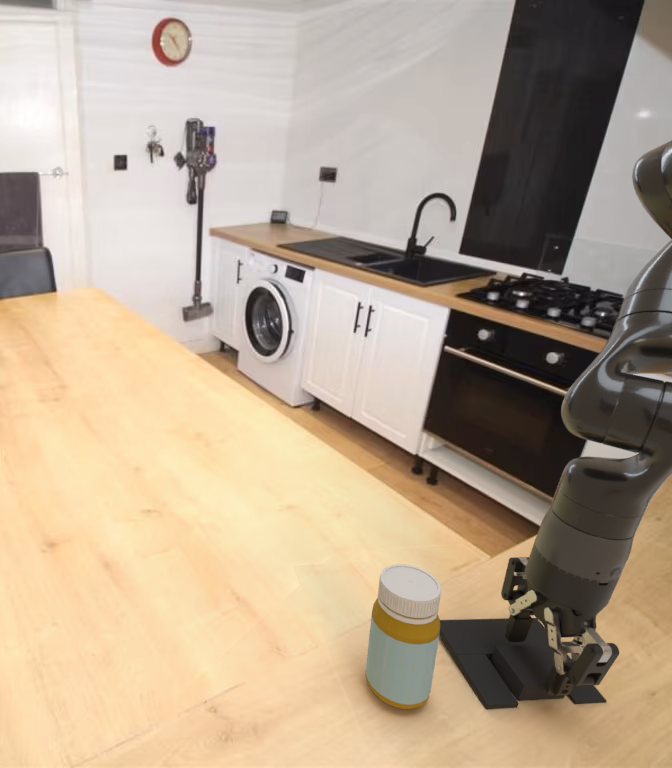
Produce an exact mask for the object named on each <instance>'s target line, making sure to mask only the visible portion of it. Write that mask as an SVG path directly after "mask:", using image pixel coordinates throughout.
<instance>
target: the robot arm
mask: <svg viewBox="0 0 672 768" xmlns="http://www.w3.org/2000/svg"><path fill="white" fill-rule="evenodd" d="M631 179H632V186H633V189H634V192H635V195H636V196H637V199H638V200H639V202H640V204H641V206H642V207H643V209H644V210H645V212H646V213H647V215H649V217H650V218H651V219H652V221H654V223H655V224H656V225H657V226H658V227H659V228H660V229H661V230H662V231H663V232H664V233H665V234H666V235H667V237H669V239H670V240H669V241H668V242H667V243H666V244H665V245H664V246H663V247H662V248H661V249H660V250H659V251H658V252H657V253H656V255H654V256H653V257H652V258H651V259H650V260H649V261H648V262H647V263H646V264H645V265H644V266H643V268H642V269H641V270H640V272H639V273H638V274H637V275H636V277H635V278H634V280H633V281H632V282H631V284H630V285H629V287H628V289H627V290H626V293H625V295H624V298H623V301H622V303H621V306H620V307H619V311H618V314H617V317H616V319H615V323H614V325H613V328H612V331H611V333H610V335H609V337H608V339H607V341H606V343H605V344H604V346H603V348H602V349H601V350H600V352H599V353H598V354H597V355H596V357H595V358H594V359H593V360H592V362H591V363H590V364H589V365H588V366H587V367H586V368H585V369H584V370H583V371H582V373H580V375H579V376H578V377H577V378H576V379H575V381H574V382H573V383H572V385H570V387H569V389H568V390H567V392H566V393H565V395H564V397H563V400H562V402H561V406H560V416H561V420H562V424H563V425H564V427H565V428H566V430H567V432H569V433H570V434H572V436H574V437H576V438H580V439H583V440H585V441H589V442H594V443H597V444H602V445H604V446H609V447H612V448H615V449H620V450H623V451H627V452H631V453H635V454H634V455H633V456H630V457H626V458H617V457H616V458H614V457H613V458H611V457H601V456H579V457H578V456H577V457H575V458H573V459H571V460H569V461H568V462H567V463H566V464H565V466H564V468H563V469H562V472H561V475H560V478H559V479H558V480H559V481H558V483H557V486H556V489H555V491H554V494H553V497H552V500H551V504H550V505H549V508H548V510H547V511H546V513H545V514H544V516H543V518H542V520H541V522H540V526H539V529H538V531H537V534H536V537H535V540H534V542H533V546H532V548H531V551H530V554H529V556H523V557H522V556H521V557H520V556H519V557H517V556H515V557H509V558H508V563H507V566H506V570H505V575H504V579H503V584H502V587H501V592H500V595H501V598H502V599H503V600H504V601H507V602H508V604H509V606H508V611H509V616H508V618H509V619H508V622H507V625H506V634H505V637H506V638H507V639H508V641H509V642H523V641H525V640H526V638H527V635H528V632H529V630H530V627H531V624H532V622H533V618H537V619H538V620H539V621H540V623H541V624H542V625H543V626H544V627H545V628H546V630H547V631H548V642H549V647H550V648H551V649H553V651H554V664H555V666H552V668H551V671H550V673H549V676H548V678H547V680H546V683H545V685H544V689H545V690H546V692H547V693H548V694H549V695H565V696H567V695H569V694H570V693H571V691H572V689H573V686H580V685H594V686H600V684H601V683H602V681H603V680H604V678H605V677H606V675H607V673H608V672H609V671H610V669H611V667H612V666H613V664H614V663H615V662H616V660H617V658H618V657H619V656H620V648H619V647H618V645H616V644H615V643H613V642H606V641H604V639H603V638H602V636H601V635H600V634H599V633H598V632H597V631H596V630H597V616H598V614H599V613H600V612H602V610H604V609H605V608H606V607H607V606H608V605H609V603H610V600H611V598H612V596H613V594H614V591H615V590H616V587H617V584H618V582H619V581H620V578H621V576H622V573H623V571H624V570H625V566H626V564H627V562H628V560H629V558H630V555H631V552H632V548H633V543H634V539H635V537H636V533H637V531H638V528H639V526H640V524H641V522H642V519H643V517H644V515H645V513H646V511H647V509H648V507H649V505H650V502H651V501H652V499H653V497H654V496H655V495H656V493H657V492H658V491H659V489H660V488H661V487H662V485H664V484H665V482H666V481H667V480H668V479H669V478H670V477H671V476H672V381H668V380H666V381H664V380H662V379H656V378H652V377H647V376H643V375H649V374H651V375H653V374H654V375H662V374H663V375H666V374H672V140H670V141H667V142H665V143H663V144H661V145H659V146H657V147H655V148H653V149H651V150H649V151H647V152H646V153H644V154H642V155H641V156H640V157H639V158H638V159H637V160H636V161H635V163H634V165H633V168H632V173H631ZM639 374H640V375H639ZM641 375H642V376H641ZM516 586H517V588H516V589H515V587H516ZM532 616H534V617H532ZM562 638H573V639H572V640H571V641H570V640H569V641H562ZM567 654H568V655H569V654H570V658H571V659H572V661H567V660H566V655H567Z"/></svg>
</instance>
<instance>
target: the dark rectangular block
mask: <svg viewBox="0 0 672 768" xmlns="http://www.w3.org/2000/svg"><path fill="white" fill-rule="evenodd" d="M489 661H490V662H491V663H492V665H493V666H494V668H495V669H496V671H497V672H498V674H499V675H500V677H501V678H502V680H503V681H504V682H505V684H506V685H507V687H508V688H509V690H510V691H511V693H512V694H513V696H514V697H515V699H516V700H517V701H518V702H524V701H526V702H527V701H539V700H540V701H543V700H544V701H545V700H560V699H561V700H562V699H564V698H565V697H566V695H549V694H548V693H547V692H546V690H545V689H544V685H545V683H546V680H547V678H548V676H549V673H550V671H551V668H552V666H555V665H554V664H553V663H552V661H551V660H550V659H549V658H548V656H547V655H546V654H545V653H544V651H543V650H542V649H541V648H540V646H539V645H507V646H495V649H494V652H493V655H492V657H491V659H489Z"/></svg>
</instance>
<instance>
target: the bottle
mask: <svg viewBox="0 0 672 768" xmlns="http://www.w3.org/2000/svg"><path fill="white" fill-rule="evenodd" d="M377 588H378V590H377V591H378V593H377V598H376V599H375V601H374V602H373V603H372V610H371V617H370V626H369V634H368V635H369V636H368V645H367V654H366V662H365V663H366V664H365V679H366V683H367V686H368V687H369V689H370V691H372V693H374V695H375V696H376V697H378V699H380V700H381V701H382V702H384V703H386V704H387V705H389V706H392V707H394V708H397V709H401V710H409V709H410V710H412V709H418V708H420V707H422V706H423V705H425V704H426V703H427V702H428V700H429V699H430V694H431V691H432V685H433V678H434V672H435V666H436V659H437V653H438V648H439V647H438V645H439V640H440V636H439V634H440V620H441V619H440V617H439V610H440V609H439V608H440V604H441V597H442V586H441V584H440V582H439V580H438V579H437V578H436V577H435V576H434V575H433V574H432V573H430V572H428V571H427V570H425V569H423V568H420V567H418V566H415V565H411V564H404V563H398V564H397V563H396V564H391V565H388V566H386V567H384V568H383V569H382V570H381V572H380V574H379V581H378V587H377Z"/></svg>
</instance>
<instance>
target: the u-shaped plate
mask: <svg viewBox="0 0 672 768" xmlns="http://www.w3.org/2000/svg"><path fill="white" fill-rule="evenodd" d="M532 618H533V622H532V624H531V627H530V630H529V632H528V635H527V638H526V640H525V641H523V642H509V641H508V639H507V638H506V637H505V634H506V625H507V622H508V619H509V617H508V618H507V617H506V618H469V619H468V618H467V619H439V620H440V634H439V638H440V639H441V640H442V642H443V643H444V645H445V647H446V649H447V650H448V652H449V654H450V655H451V656H452V658H453V660H454V662H455V664H456V665H457V666H458V668H459V670H460V671H461V673H462V674H463V676H464V678H465V679H466V681H467V683H468V684H469V686H470V688H471V689H472V691H473V693H474V694H475V696H476V697H477V699H478V700H479V702H480V703H481V705H482V707H483V708H484V710H497V709H498V710H499V709H501V710H502V709H517V708H518V707H519V704H520V703H519V701H517V699H516V698H515V697H514V695H513V694H512V693H511V691H510V690H509V688H508V687H507V685H506V684H505V682H504V681H503V680H502V678H501V677H500V675H499V674H498V672H497V671H496V669H495V668H494V666H493V665H492V663H491V662H490V660H491V657H492V655H493V652H494V649H495V646H507V645H539V646H540V648H541V649H542V650H543V651H544V653H545V654H546V655H547V656H548V658H549V659H550V660H551V661H552V663H553V664H554V651H553V649H551V648H550V647H549V642H548V631H547V630H546V628H545V627H544V625H543V623H542V622H541V621H540V620H538V619H537V618H536V617H532ZM566 660H567V661H572V658H571V656H570V655H569V653H568V654H567V655H566ZM554 665H555V664H554ZM566 696H567V698H569V699H570V701H571V702H572V703H573V704H574V705H587V704H604V703H605V704H606V703H607V702H608V701H607V699H606V698H605V697H604V696H603V695H602V693H601V692H600V691H599V690H598V689H597V688H596V685H580V686H573V689H572V691H571V693H570V694H569V695H566Z"/></svg>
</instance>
